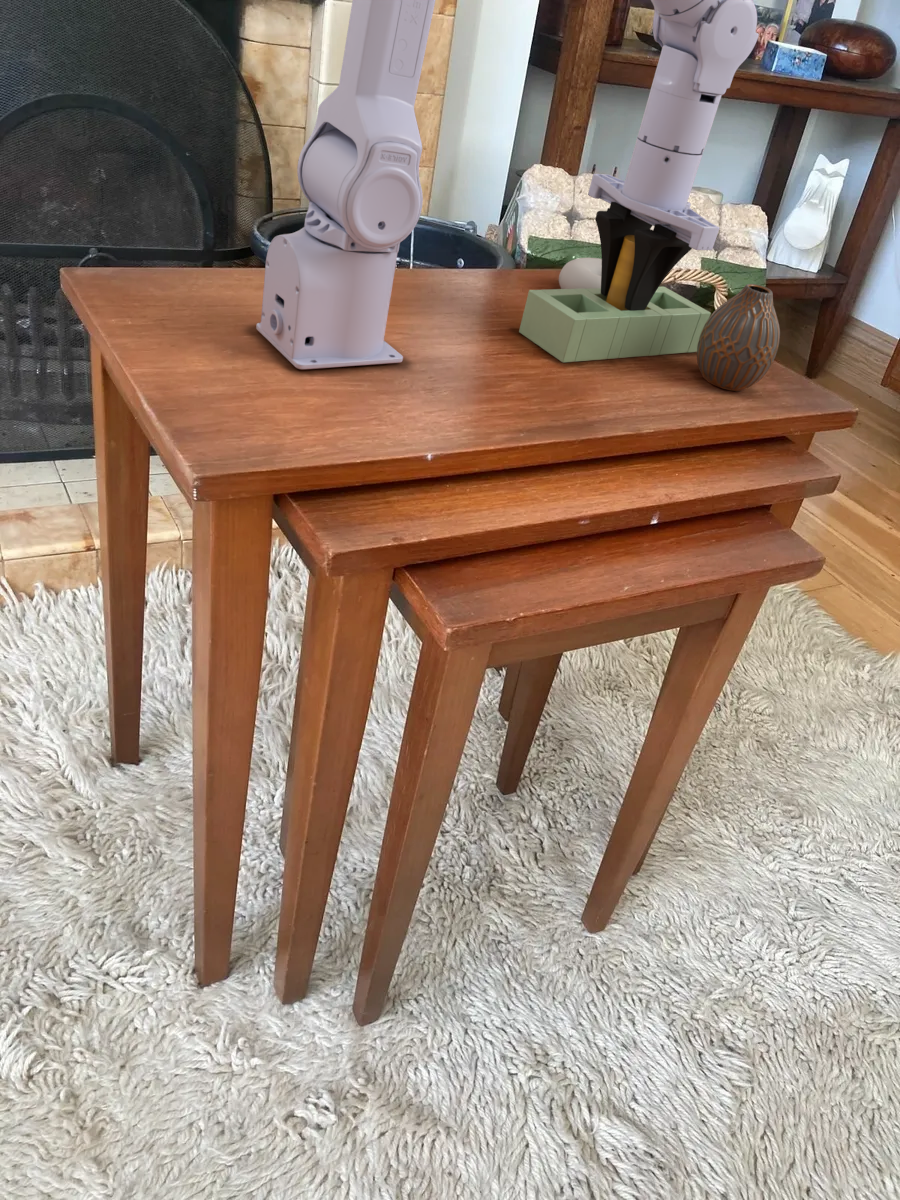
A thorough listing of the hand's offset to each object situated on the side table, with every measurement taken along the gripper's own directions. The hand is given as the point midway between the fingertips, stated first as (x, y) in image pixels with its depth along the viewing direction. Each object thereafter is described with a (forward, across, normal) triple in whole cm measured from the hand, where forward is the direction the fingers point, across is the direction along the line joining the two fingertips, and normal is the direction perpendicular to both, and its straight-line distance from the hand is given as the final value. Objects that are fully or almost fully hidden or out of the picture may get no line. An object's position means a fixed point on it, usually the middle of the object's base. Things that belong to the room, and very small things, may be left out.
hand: (622, 301), depth 90 cm
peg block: (+4, 0, 0) cm, 4 cm away
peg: (+2, 0, 0) cm, 2 cm away
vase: (+4, -10, -6) cm, 12 cm away
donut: (+4, +10, -7) cm, 13 cm away
